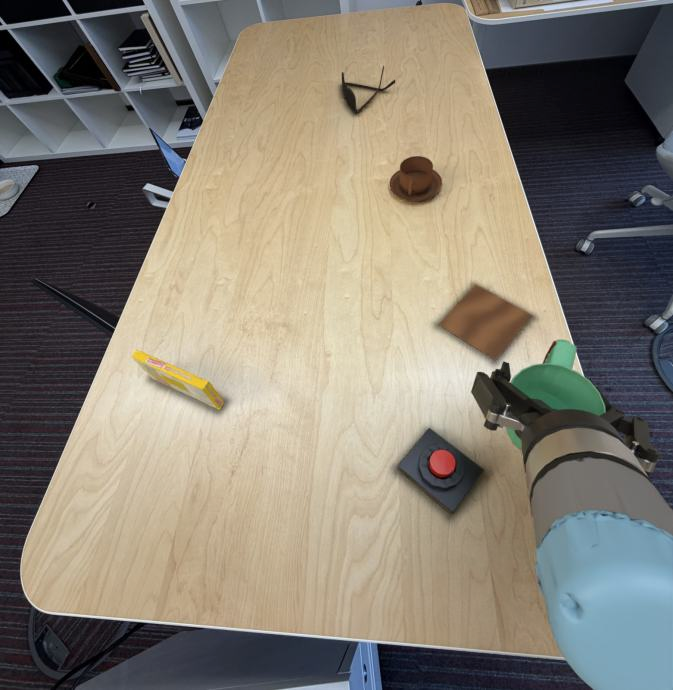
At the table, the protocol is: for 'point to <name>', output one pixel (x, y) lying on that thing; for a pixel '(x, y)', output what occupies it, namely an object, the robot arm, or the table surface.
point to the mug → (557, 384)
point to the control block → (438, 488)
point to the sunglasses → (350, 95)
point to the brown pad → (485, 321)
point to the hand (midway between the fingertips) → (545, 383)
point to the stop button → (442, 463)
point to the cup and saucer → (415, 180)
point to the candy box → (179, 379)
